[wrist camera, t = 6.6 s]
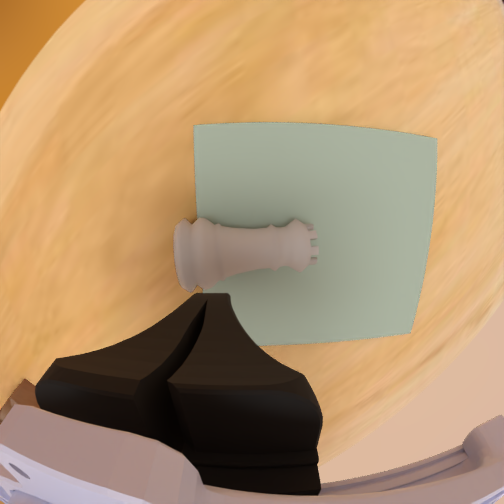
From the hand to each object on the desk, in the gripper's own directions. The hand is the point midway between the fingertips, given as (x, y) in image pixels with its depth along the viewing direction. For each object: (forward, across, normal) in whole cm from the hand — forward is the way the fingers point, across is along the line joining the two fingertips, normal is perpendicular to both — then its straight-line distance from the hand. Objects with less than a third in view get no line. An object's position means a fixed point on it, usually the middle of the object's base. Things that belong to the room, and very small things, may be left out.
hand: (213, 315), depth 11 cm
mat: (+9, -6, 0) cm, 11 cm away
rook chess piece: (+6, +3, 0) cm, 7 cm away
